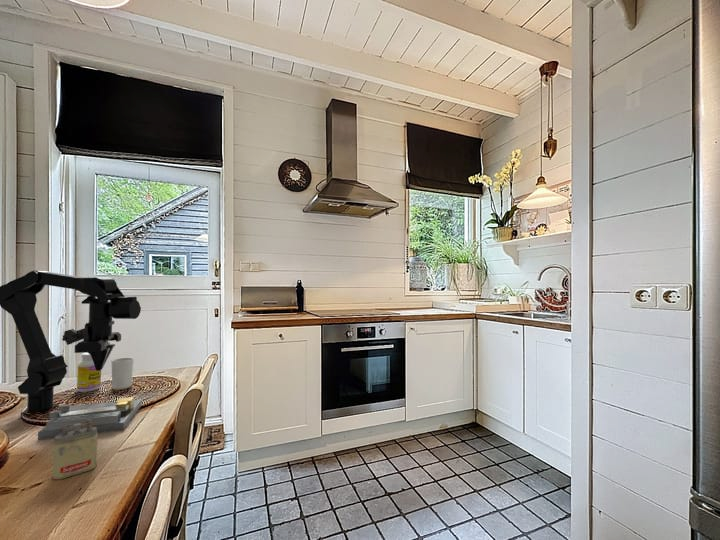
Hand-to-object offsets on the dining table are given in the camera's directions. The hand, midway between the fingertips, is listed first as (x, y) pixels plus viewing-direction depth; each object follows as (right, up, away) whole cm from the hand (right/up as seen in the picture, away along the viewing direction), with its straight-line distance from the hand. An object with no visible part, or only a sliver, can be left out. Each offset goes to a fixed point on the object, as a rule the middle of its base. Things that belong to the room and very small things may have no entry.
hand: (99, 370), depth 103 cm
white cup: (-8, -13, +21) cm, 26 cm away
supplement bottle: (-17, -12, +18) cm, 28 cm away
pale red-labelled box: (+20, -12, -32) cm, 40 cm away
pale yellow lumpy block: (+11, -10, -6) cm, 16 cm away
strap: (+6, -9, -10) cm, 15 cm away
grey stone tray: (+5, -12, -8) cm, 15 cm away
